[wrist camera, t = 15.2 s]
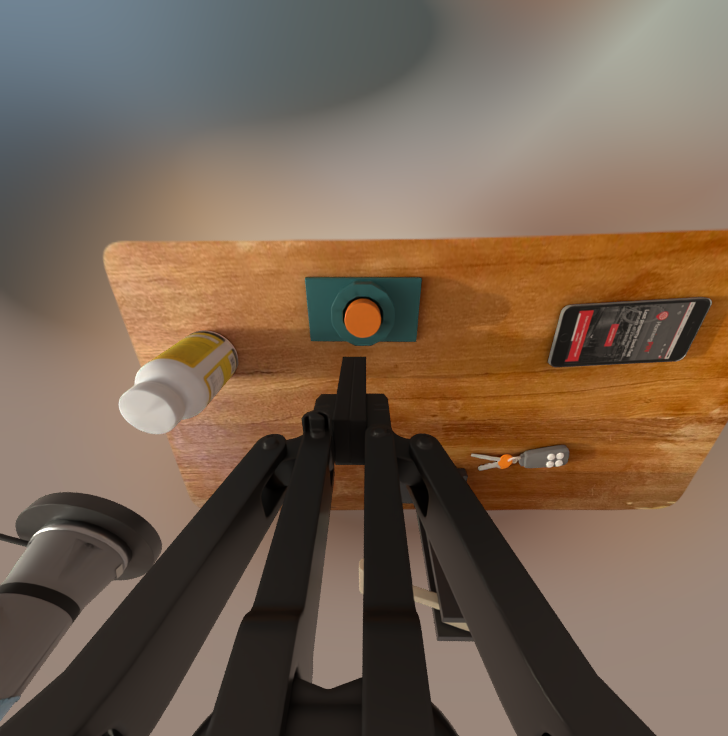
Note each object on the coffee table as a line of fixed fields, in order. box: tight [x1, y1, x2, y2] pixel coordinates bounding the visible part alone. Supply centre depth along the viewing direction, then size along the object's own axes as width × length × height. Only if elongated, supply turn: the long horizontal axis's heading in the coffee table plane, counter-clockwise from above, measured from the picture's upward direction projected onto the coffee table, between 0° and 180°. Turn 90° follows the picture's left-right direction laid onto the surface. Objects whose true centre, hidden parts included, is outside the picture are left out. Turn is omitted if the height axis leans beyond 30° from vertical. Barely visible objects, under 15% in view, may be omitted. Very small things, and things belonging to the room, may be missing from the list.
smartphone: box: [548, 297, 712, 367], centre depth 32 cm, size 7×1×15 cm
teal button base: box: [305, 277, 422, 346], centre depth 30 cm, size 12×7×2 cm, turn 90°
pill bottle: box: [119, 331, 238, 434], centre depth 29 cm, size 6×6×12 cm
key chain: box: [471, 445, 569, 471], centre depth 40 cm, size 13×4×2 cm, turn 100°
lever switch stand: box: [400, 468, 474, 641], centre depth 36 cm, size 10×6×18 cm, turn 90°
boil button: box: [344, 298, 381, 338], centre depth 29 cm, size 4×4×2 cm
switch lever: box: [359, 558, 470, 632], centre depth 31 cm, size 12×5×2 cm, turn 90°
